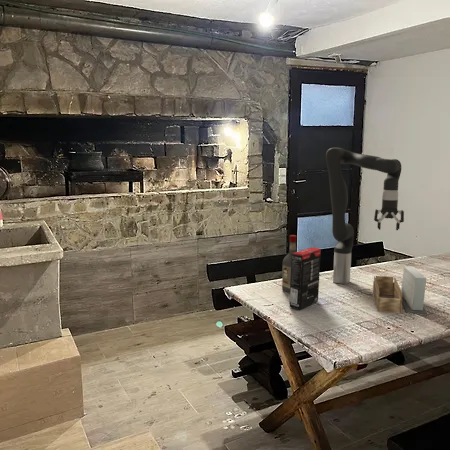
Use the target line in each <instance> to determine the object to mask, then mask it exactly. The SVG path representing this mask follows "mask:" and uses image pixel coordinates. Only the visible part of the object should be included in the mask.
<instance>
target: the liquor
mask: <svg viewBox="0 0 450 450" xmlns="http://www.w3.org/2000/svg"><path fill="white" fill-rule="evenodd" d="M288 240H289V250H288V254H286V255H285V256H284V258H283V260H282V267H281V268H282V271H281V272H282V275H281V276H282V278H281V290H282V292H285V293H287V294H290V280H291V258H292V253H295V252H297V235H295V234H290V235H289V239H288Z"/></svg>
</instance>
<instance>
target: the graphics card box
mask: <svg viewBox="0 0 450 450" xmlns="http://www.w3.org/2000/svg"><path fill="white" fill-rule="evenodd" d="M321 249H322V248H319V247H309V248H305V249H302V250H298V251H296V252H295V253H292V258H291V280H290V293H289V302H288V303H289V305H288V307H289V308H291V309H292V308H293V309H294V310H295V309H296V310H299V311H301V310H303V309H304V308H307V307H309V306H312V305H313V304H316V303H317V302H319V292H320V290H319V289H320V273H321V272H320V271H321V254H322V253H321V252H322V250H321Z"/></svg>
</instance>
